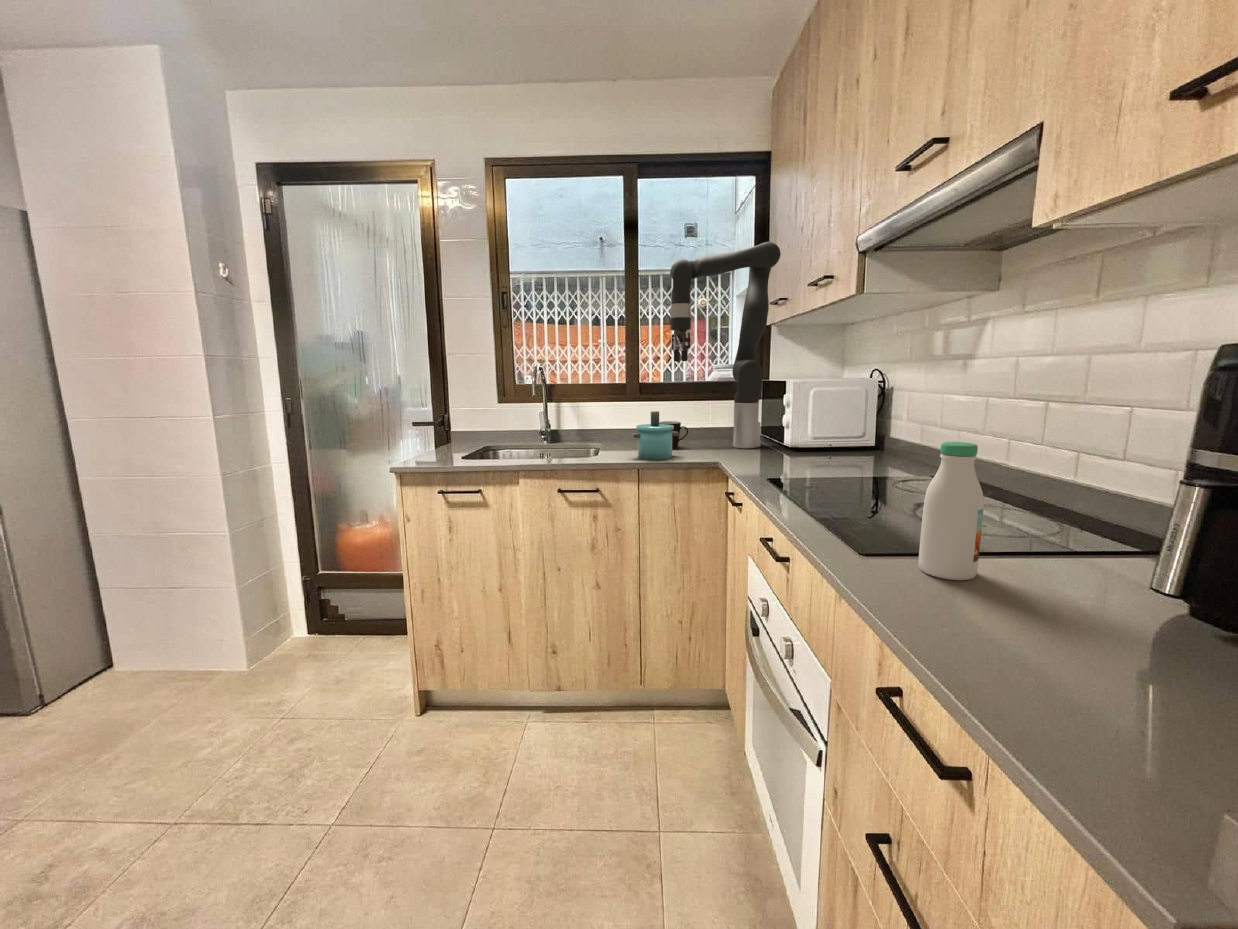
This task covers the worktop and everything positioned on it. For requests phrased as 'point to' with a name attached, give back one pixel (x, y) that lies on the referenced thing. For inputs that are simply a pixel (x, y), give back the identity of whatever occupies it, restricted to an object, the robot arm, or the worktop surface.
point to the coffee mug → (676, 428)
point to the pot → (654, 444)
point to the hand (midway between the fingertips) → (680, 361)
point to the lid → (655, 424)
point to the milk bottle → (952, 516)
